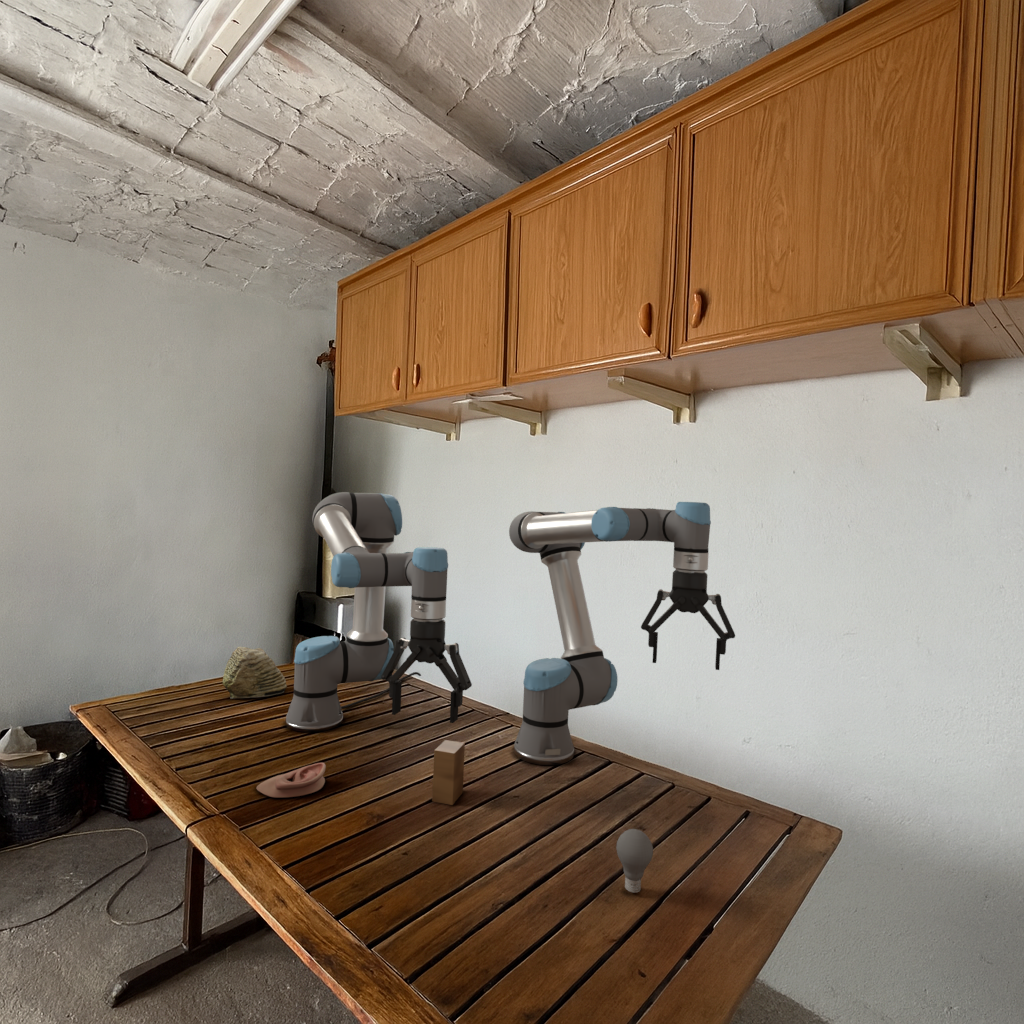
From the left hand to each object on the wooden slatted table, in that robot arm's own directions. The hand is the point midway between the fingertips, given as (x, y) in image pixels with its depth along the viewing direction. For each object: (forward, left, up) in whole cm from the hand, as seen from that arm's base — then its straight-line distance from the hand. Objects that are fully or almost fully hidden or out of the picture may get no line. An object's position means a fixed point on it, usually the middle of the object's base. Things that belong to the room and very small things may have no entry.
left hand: (424, 717), depth 137 cm
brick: (-3, +5, -17) cm, 18 cm away
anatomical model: (+17, -22, -17) cm, 33 cm away
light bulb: (0, +51, -17) cm, 53 cm away
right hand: (-40, +41, +12) cm, 59 cm away
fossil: (-9, -86, -17) cm, 88 cm away
